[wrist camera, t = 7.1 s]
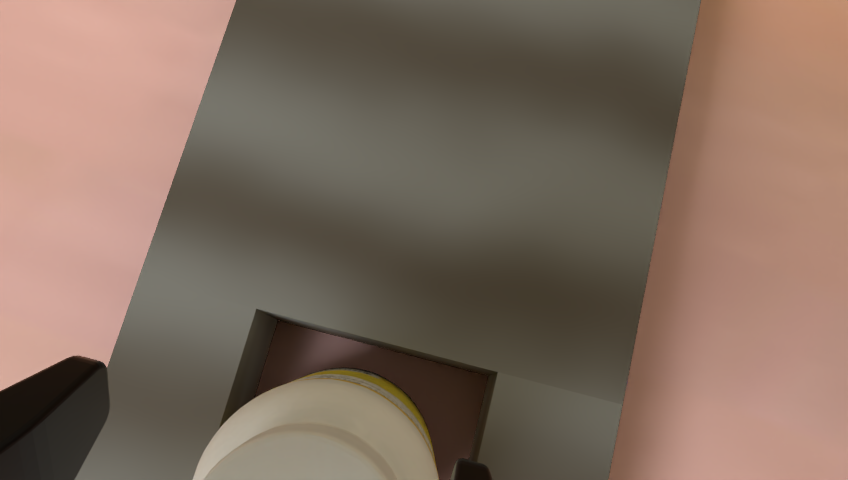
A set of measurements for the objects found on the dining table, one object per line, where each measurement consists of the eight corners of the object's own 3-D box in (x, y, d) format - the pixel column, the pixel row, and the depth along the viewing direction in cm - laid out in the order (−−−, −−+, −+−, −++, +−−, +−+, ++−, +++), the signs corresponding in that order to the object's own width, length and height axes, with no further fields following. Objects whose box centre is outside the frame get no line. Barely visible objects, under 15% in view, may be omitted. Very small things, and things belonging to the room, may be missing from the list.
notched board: (549, 640, 21) (569, 679, 18) (100, 513, 22) (49, 531, 19) (689, -59, 26) (723, -117, 23) (321, -141, 27) (309, -207, 24)
